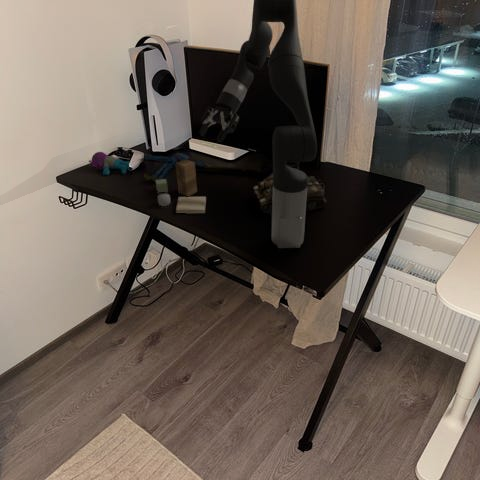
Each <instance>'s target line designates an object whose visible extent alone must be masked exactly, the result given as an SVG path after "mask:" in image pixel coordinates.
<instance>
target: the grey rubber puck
mask: <svg viewBox="0 0 480 480" xmlns="http://www.w3.org/2000/svg"><path fill="white" fill-rule="evenodd" d="M157 203H158V204H159V205H161V206H167V205H169V204H170V203H171V195H170V194H169V193H159V194H157ZM171 204H172V203H171ZM159 205H158V206H159Z"/></svg>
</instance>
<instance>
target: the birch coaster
mask: <svg viewBox="0 0 480 480" xmlns="http://www.w3.org/2000/svg"><path fill="white" fill-rule="evenodd" d="M206 203H207V196H188V197H186V196H178V198H177V203H176V208H175V213H186V214H205V213H206V206H207V205H206Z"/></svg>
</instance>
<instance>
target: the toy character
mask: <svg viewBox="0 0 480 480" xmlns="http://www.w3.org/2000/svg"><path fill="white" fill-rule="evenodd" d="M143 155H144V158H143V159H144V160H146V161H154V160H155V161H161V162H163V161H164V163H163V165H161V167H159V169H158V170H157V171H156V172H155V173H153V174H152V175H151V176H150V175H148V174H147V173H144V174H143V176H144V178H145V180H146V182H151V181H153V183H156V180H161V179H163V178H164V179H165V176H167V175H168V173H169V172H170V171H171V169H172V168H176V163H177V162H180V161H182V160H185V159H187V160H189V159H190V155H187V154H185V153H181V152H176V153H174V154H173V155H172V156H170V157H168V156H156V155H152V154H149V153H144V154H143ZM194 162H195V167H196V166H197V167H198V166H202V167H211V168H212V166H211V164H208V163H207V162H198V161H194Z"/></svg>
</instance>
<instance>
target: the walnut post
mask: <svg viewBox="0 0 480 480" xmlns="http://www.w3.org/2000/svg"><path fill="white" fill-rule="evenodd" d="M195 162H196V161H191V160H190V159H185V160H182V161H180V162H177V163H176V166H175V171H176V180H177V181H176V182H177V189H178V193H179V194H180V193H181V194H180V195H182V194H183V195H182V196H184V195H185V196H184V197H186V196H188V197H191V196H192V195H194V193H195V194H197V193H198V187H197V186H198V185H197V176H196V175H197V173H196V166H195ZM196 192H197V193H196Z"/></svg>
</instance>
